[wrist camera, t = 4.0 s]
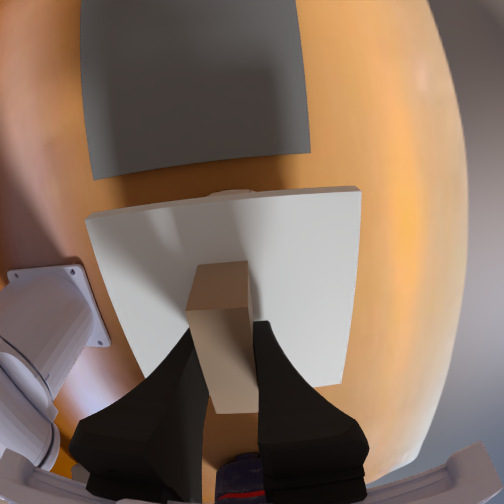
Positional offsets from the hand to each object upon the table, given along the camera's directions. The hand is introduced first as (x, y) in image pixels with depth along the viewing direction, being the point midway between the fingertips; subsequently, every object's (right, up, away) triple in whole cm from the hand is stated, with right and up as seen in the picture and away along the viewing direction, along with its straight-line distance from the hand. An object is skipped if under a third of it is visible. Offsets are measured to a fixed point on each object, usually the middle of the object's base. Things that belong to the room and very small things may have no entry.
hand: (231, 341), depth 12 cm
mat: (-3, +16, +3) cm, 16 cm away
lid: (0, +1, +2) cm, 2 cm away
